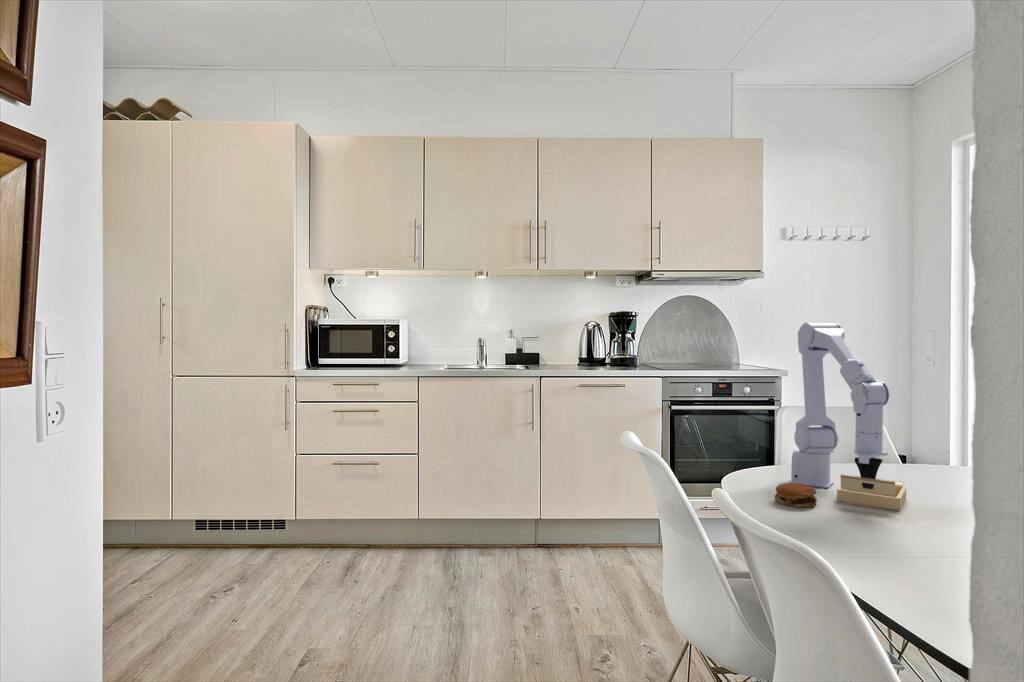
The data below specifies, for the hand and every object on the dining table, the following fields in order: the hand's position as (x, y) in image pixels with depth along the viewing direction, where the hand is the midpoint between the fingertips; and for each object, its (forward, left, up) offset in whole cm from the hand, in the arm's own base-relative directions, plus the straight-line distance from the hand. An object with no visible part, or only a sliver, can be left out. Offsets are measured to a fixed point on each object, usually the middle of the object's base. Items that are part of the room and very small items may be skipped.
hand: (867, 488), depth 158 cm
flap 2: (0, +14, -1) cm, 14 cm away
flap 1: (0, 0, -1) cm, 1 cm away
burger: (-15, -7, -5) cm, 17 cm away
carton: (0, +7, -4) cm, 8 cm away
